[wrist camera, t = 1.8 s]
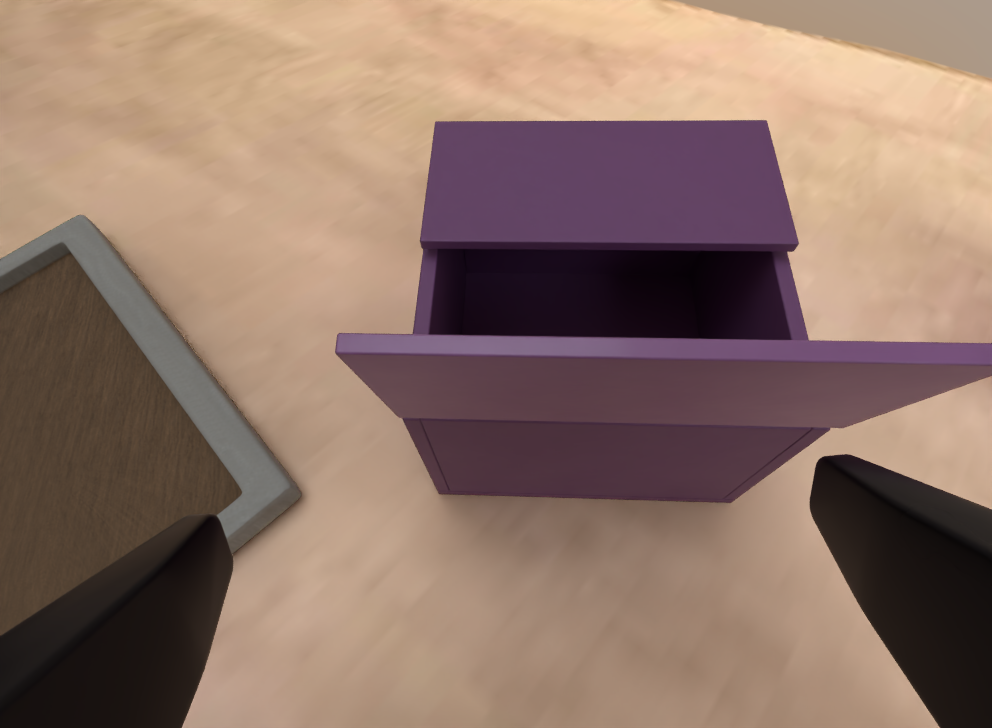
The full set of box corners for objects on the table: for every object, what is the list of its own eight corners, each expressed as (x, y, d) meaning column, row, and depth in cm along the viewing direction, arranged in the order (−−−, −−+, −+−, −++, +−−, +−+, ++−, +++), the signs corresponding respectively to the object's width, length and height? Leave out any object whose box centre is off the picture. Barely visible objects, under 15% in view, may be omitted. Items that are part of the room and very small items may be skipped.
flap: (841, 413, 14) (844, 428, 14) (399, 403, 15) (398, 418, 15) (1016, 342, 9) (1022, 365, 9) (336, 332, 10) (333, 353, 10)
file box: (731, 502, 22) (847, 418, 14) (438, 494, 23) (395, 408, 15) (696, 273, 27) (768, 118, 19) (458, 271, 28) (433, 119, 20)
